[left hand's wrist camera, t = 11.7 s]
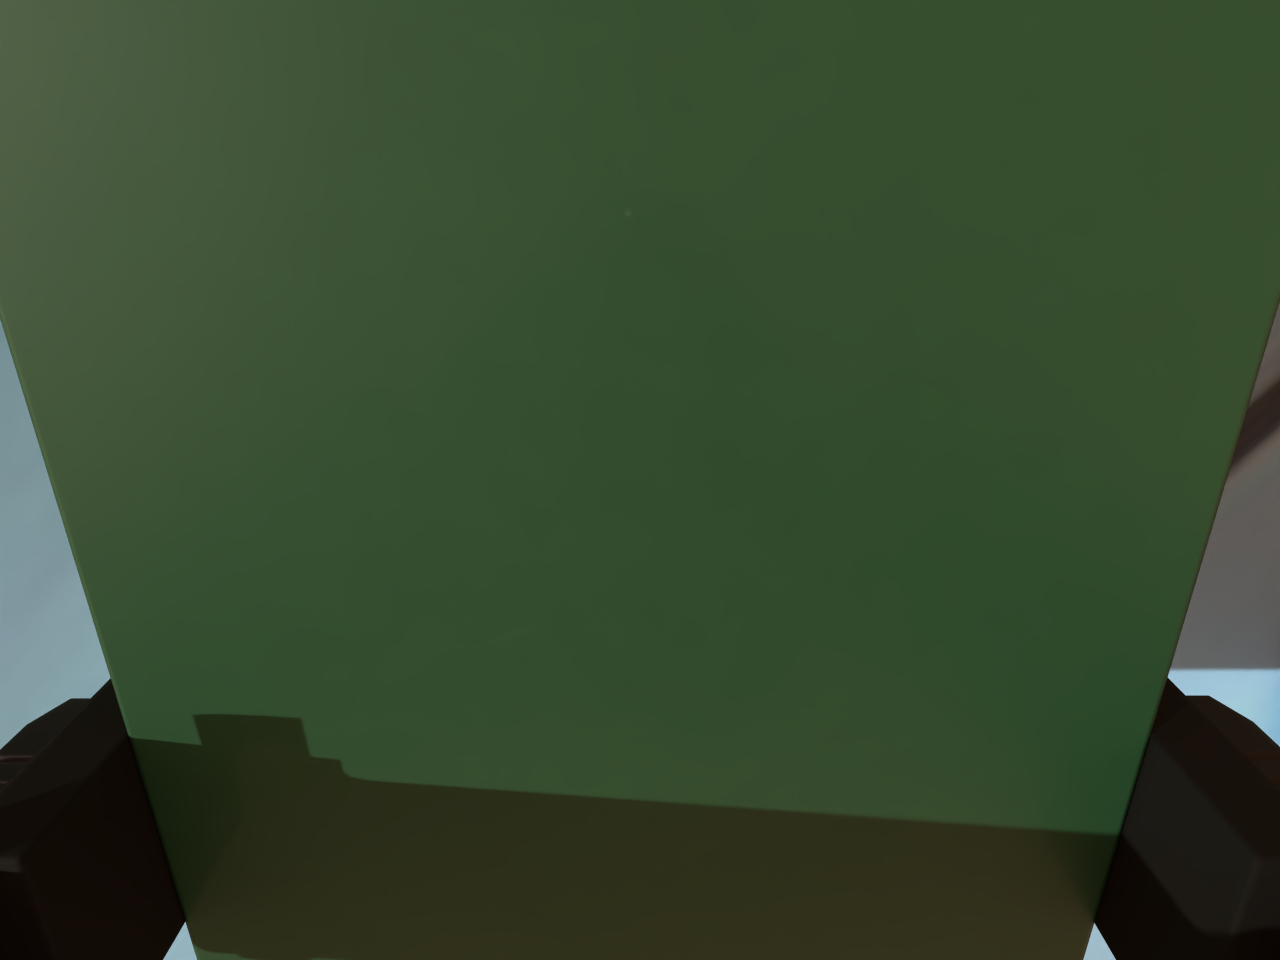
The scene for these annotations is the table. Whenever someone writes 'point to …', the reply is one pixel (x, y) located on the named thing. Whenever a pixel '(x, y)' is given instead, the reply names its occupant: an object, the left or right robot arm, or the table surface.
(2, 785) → the left robot arm
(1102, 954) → the table surface
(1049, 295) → the cabinet
